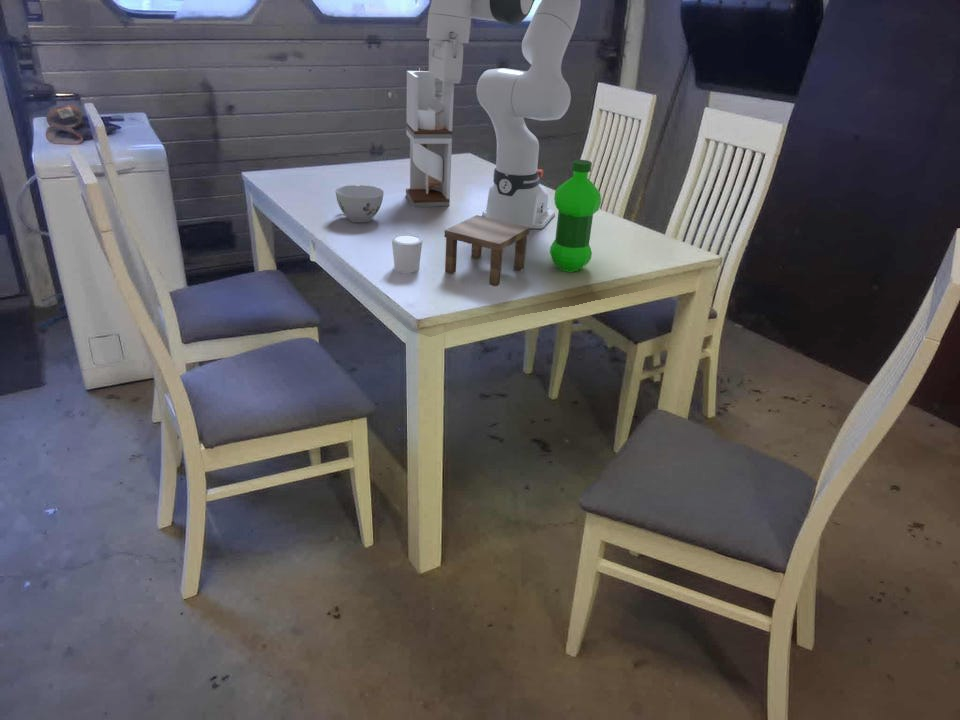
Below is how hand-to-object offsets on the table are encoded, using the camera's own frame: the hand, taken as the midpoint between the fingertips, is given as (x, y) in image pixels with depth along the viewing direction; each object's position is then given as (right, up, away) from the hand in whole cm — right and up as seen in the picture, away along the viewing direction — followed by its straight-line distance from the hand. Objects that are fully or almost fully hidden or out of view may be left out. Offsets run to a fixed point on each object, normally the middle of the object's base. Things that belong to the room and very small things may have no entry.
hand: (441, 102), depth 152 cm
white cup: (-9, -34, +11) cm, 37 cm away
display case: (-7, -8, +58) cm, 59 cm away
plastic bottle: (+29, -34, +17) cm, 48 cm away
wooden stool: (+9, -35, +12) cm, 38 cm away
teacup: (-25, -17, +40) cm, 50 cm away
